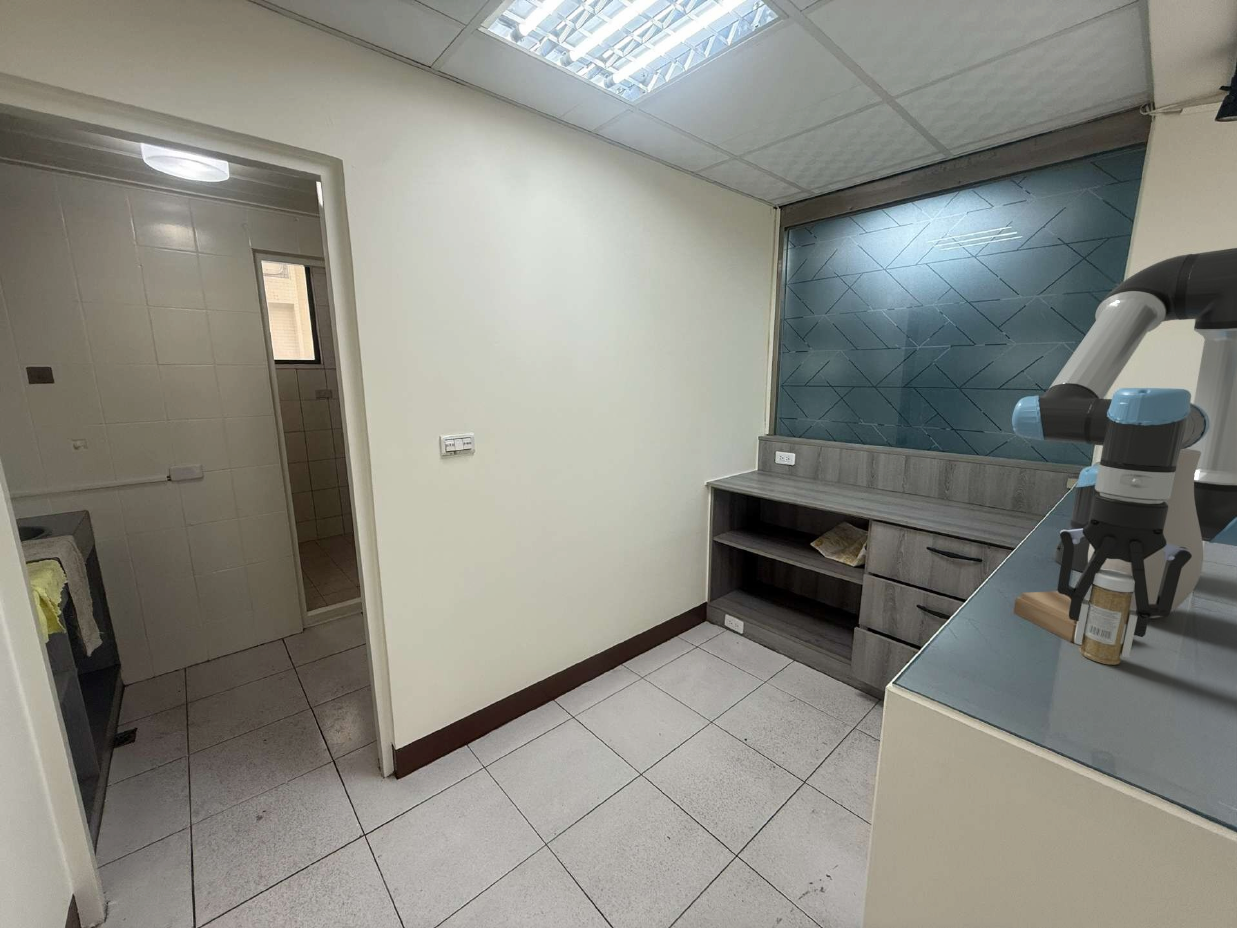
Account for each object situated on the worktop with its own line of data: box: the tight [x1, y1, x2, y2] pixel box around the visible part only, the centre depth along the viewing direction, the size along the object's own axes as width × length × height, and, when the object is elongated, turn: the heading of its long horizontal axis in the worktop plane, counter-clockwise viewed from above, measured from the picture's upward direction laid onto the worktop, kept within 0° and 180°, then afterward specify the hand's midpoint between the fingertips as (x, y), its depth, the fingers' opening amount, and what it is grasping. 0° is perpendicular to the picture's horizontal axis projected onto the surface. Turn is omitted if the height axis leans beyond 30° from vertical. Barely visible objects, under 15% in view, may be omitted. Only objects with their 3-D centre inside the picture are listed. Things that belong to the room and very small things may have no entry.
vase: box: [1088, 449, 1204, 619], centre depth 86 cm, size 14×14×30 cm
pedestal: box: [1013, 590, 1077, 643], centre depth 83 cm, size 10×10×4 cm
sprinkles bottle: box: [1078, 569, 1135, 666], centre depth 73 cm, size 5×5×14 cm
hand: (1100, 646), depth 74 cm, fingers closed on sprinkles bottle, 4 cm apart
